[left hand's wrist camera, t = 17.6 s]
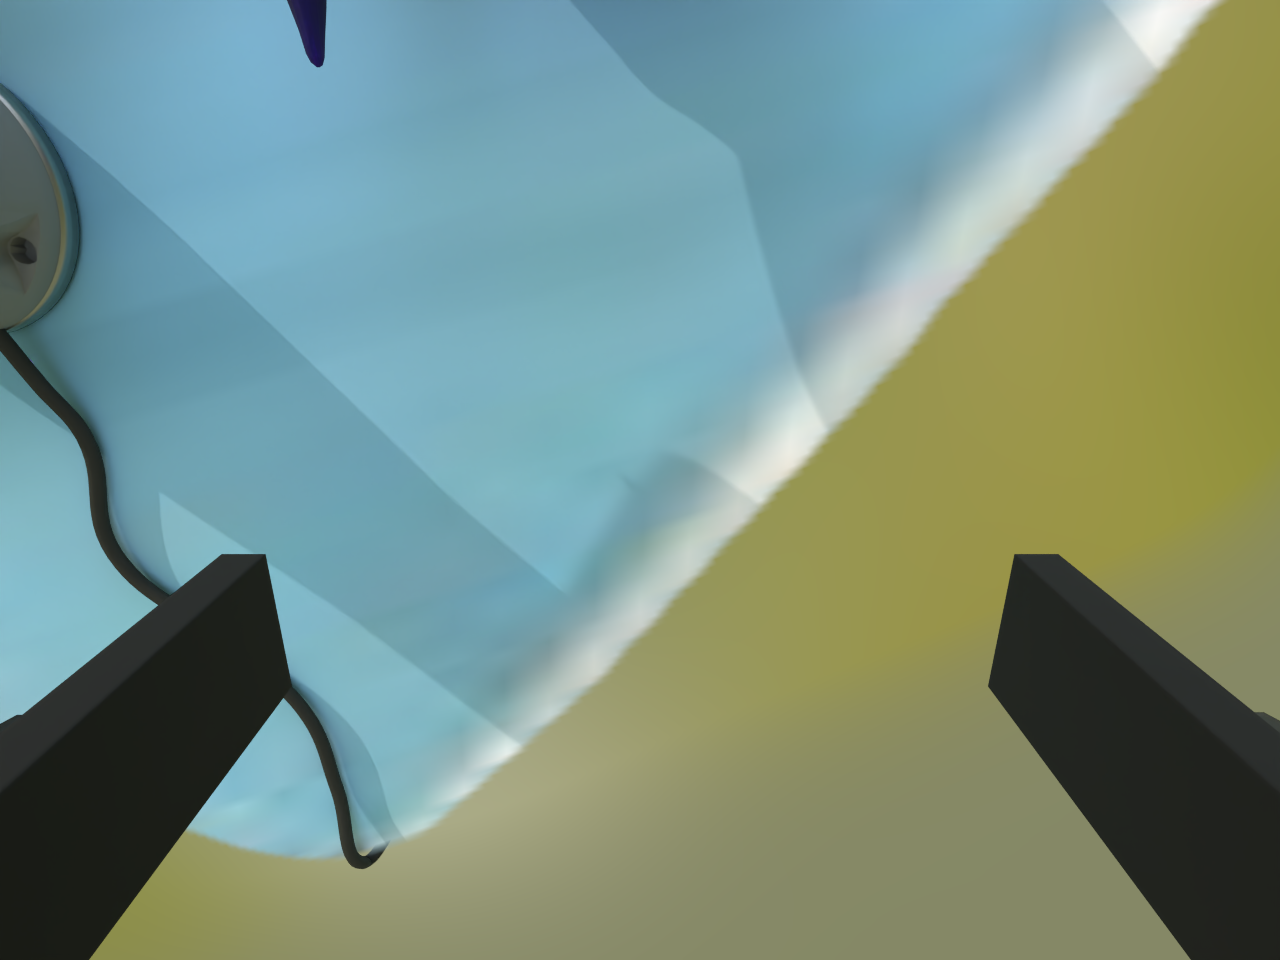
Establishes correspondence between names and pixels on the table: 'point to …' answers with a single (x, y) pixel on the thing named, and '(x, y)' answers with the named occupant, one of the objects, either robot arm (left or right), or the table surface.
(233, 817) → the table surface
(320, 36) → the toy
